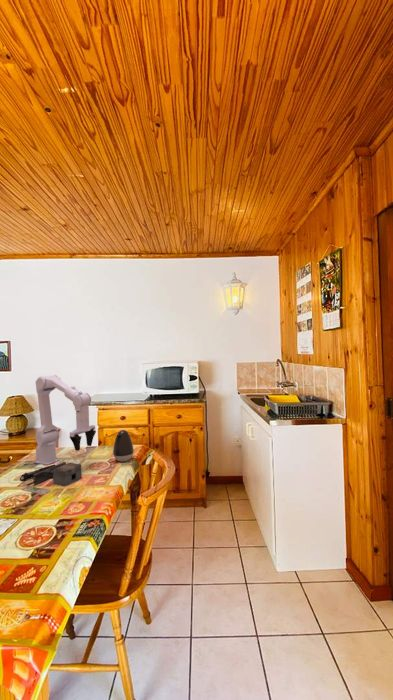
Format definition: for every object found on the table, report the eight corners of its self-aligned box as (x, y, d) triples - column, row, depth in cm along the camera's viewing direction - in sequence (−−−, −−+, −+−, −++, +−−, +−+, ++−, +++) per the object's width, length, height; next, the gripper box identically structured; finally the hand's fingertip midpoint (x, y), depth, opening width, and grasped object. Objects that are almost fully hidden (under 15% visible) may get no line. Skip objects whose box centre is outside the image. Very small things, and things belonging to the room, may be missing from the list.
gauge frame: (21, 489, 130) (20, 475, 130) (57, 473, 146) (56, 460, 146) (47, 495, 123) (46, 480, 123) (81, 478, 140) (81, 464, 140)
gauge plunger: (26, 487, 131) (25, 477, 131) (64, 470, 149) (64, 461, 149) (47, 491, 126) (47, 481, 126) (84, 473, 144) (84, 464, 144)
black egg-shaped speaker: (109, 462, 158) (108, 432, 158) (120, 456, 168) (119, 427, 168) (127, 464, 155) (126, 433, 155) (137, 457, 165) (136, 428, 165)
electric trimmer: (57, 471, 150) (57, 464, 150) (23, 482, 138) (23, 475, 138) (53, 470, 152) (53, 463, 152) (19, 480, 140) (19, 473, 140)
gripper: (77, 423, 143) (78, 453, 143) (99, 416, 156) (100, 444, 156) (65, 422, 146) (66, 452, 146) (88, 416, 159) (89, 443, 159)
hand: (83, 448), depth 151 cm, fingers open, 7 cm apart
